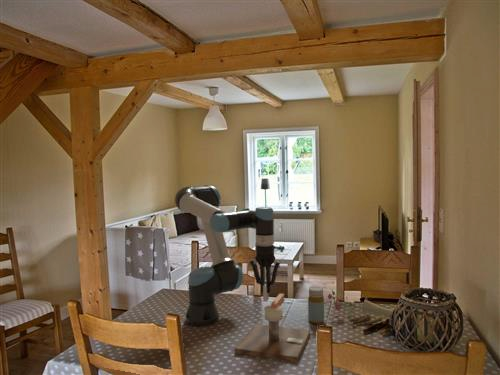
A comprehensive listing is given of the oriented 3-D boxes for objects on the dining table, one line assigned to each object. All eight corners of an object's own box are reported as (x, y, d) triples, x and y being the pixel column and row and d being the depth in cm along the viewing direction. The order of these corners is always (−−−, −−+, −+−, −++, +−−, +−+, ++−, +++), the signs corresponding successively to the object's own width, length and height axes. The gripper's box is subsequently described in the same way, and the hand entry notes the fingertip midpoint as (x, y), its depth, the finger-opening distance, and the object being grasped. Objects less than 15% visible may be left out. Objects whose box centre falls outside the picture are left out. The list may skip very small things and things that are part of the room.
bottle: (324, 325, 177) (323, 291, 176) (307, 324, 178) (307, 290, 177) (324, 319, 183) (324, 286, 182) (308, 318, 185) (308, 285, 184)
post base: (234, 353, 152) (234, 327, 151) (254, 328, 174) (254, 305, 174) (297, 362, 144) (297, 335, 143) (310, 335, 166) (309, 311, 166)
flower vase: (402, 343, 174) (322, 318, 183) (402, 324, 185) (326, 302, 194) (409, 322, 169) (327, 298, 178) (408, 304, 180) (331, 282, 189)
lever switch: (280, 322, 154) (279, 308, 154) (262, 320, 156) (262, 306, 156) (290, 307, 170) (290, 294, 169) (274, 306, 172) (273, 293, 172)
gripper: (247, 245, 166) (248, 301, 167) (277, 247, 162) (278, 304, 163) (252, 242, 173) (254, 296, 174) (282, 243, 169) (283, 298, 170)
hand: (265, 300), depth 169 cm, fingers closed
